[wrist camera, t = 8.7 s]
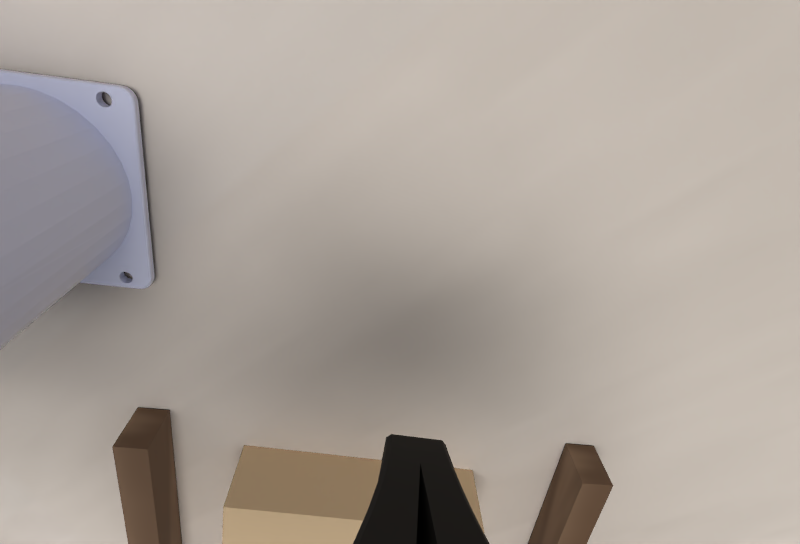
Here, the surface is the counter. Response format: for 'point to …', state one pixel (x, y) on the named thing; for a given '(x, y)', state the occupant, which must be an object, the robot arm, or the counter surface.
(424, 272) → the counter surface
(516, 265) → the counter surface
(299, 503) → the kraft carton
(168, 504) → the tray
